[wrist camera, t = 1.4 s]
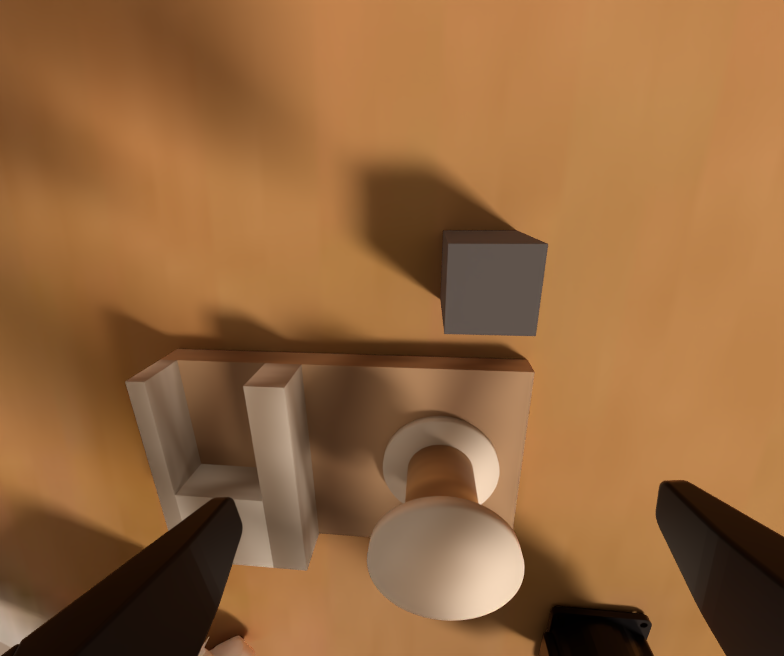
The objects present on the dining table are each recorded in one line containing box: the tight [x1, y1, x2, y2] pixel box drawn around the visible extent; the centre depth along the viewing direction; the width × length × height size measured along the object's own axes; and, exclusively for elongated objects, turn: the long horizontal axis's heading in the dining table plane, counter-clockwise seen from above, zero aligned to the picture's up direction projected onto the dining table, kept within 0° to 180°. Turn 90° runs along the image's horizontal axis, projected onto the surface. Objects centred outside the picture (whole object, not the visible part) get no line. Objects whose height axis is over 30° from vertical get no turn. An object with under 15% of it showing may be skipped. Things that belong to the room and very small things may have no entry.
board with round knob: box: [125, 349, 535, 621], centre depth 19 cm, size 20×12×8 cm, turn 91°
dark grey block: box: [441, 230, 548, 336], centre depth 16 cm, size 4×4×5 cm
